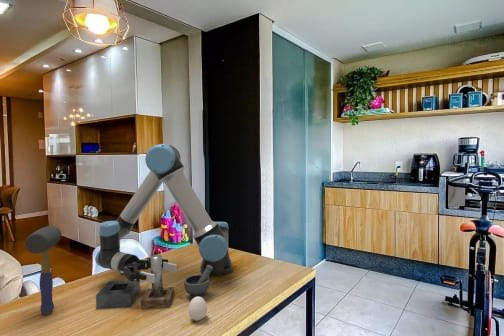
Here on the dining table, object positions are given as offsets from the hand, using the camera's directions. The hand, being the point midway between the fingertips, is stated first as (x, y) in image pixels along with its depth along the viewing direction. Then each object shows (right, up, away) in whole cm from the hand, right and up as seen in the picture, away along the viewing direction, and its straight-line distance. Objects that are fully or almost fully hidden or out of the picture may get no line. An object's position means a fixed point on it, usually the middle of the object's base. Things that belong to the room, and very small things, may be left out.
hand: (165, 273), depth 109 cm
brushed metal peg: (-4, -10, +3) cm, 11 cm away
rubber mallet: (-40, -12, -5) cm, 42 cm away
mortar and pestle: (+11, -11, +6) cm, 17 cm away
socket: (-19, -12, +4) cm, 22 cm away
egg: (+14, -12, -10) cm, 21 cm away
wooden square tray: (-4, -11, +3) cm, 12 cm away
